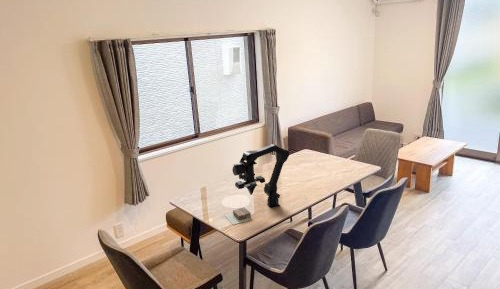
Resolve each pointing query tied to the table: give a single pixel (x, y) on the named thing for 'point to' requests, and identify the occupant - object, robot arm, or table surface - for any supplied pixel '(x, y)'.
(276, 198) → the robot arm
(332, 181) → the table surface
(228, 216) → the mat
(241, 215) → the grey brown stone slab
